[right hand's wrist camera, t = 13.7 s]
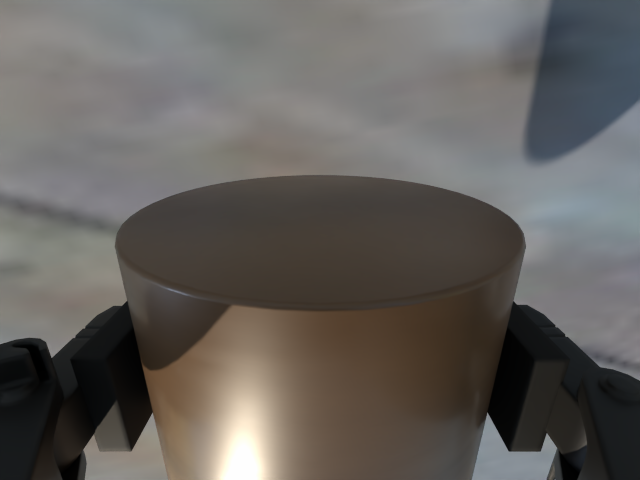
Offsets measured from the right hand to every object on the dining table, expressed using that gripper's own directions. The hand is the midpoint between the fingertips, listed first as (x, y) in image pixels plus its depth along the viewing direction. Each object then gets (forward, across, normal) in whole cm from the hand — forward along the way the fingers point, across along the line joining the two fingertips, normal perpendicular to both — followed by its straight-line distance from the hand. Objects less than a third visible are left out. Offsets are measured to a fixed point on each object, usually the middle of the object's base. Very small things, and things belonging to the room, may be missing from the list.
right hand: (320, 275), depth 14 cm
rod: (0, 0, -10) cm, 10 cm away
